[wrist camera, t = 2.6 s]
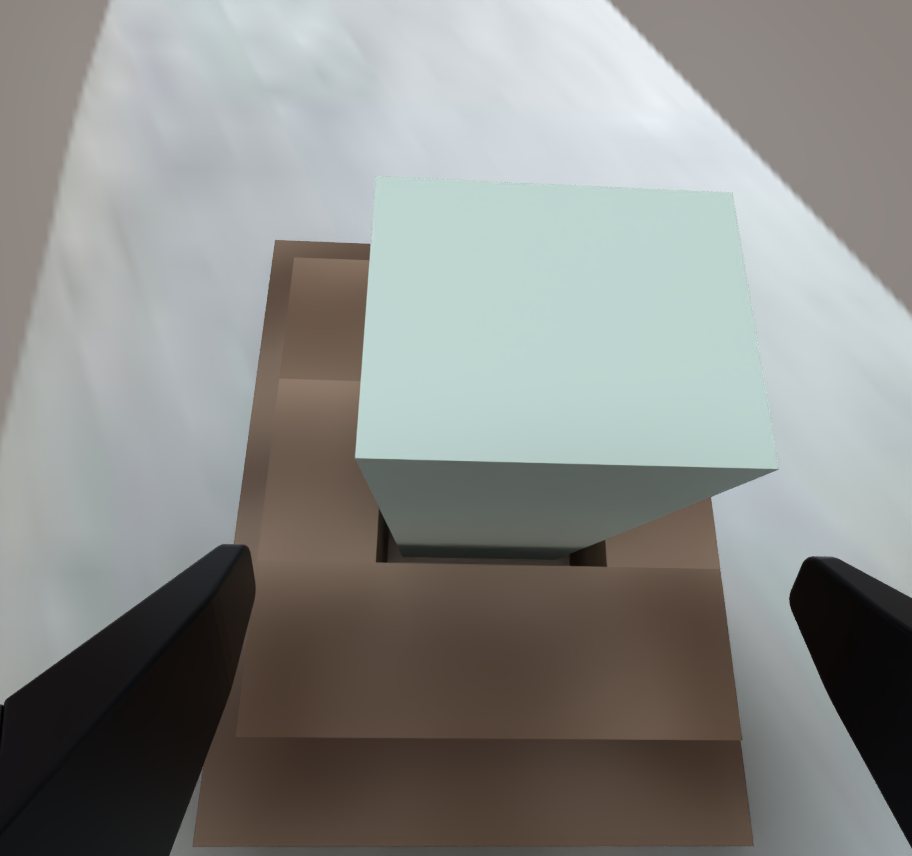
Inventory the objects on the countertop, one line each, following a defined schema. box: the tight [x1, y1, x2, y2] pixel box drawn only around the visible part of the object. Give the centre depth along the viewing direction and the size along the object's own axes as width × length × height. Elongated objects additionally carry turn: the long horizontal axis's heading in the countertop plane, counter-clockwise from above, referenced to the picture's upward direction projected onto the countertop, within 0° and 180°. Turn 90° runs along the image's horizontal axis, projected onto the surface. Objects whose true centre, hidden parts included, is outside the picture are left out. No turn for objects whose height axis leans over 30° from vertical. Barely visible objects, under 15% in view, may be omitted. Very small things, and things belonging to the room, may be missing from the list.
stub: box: [355, 176, 779, 560], centre depth 13 cm, size 4×5×12 cm
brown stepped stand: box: [193, 240, 754, 847], centre depth 17 cm, size 20×16×5 cm
